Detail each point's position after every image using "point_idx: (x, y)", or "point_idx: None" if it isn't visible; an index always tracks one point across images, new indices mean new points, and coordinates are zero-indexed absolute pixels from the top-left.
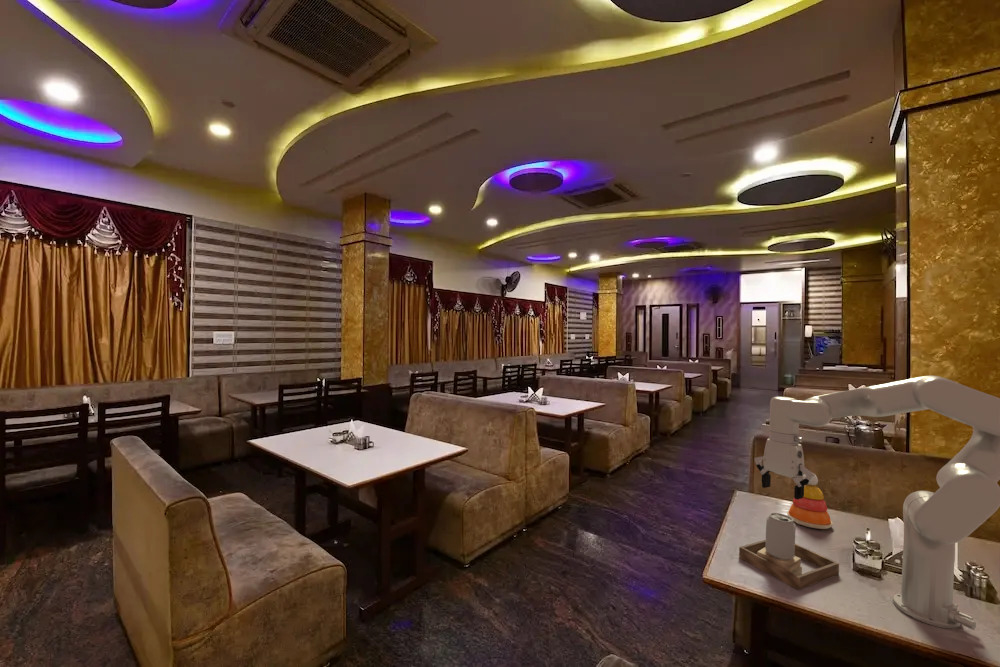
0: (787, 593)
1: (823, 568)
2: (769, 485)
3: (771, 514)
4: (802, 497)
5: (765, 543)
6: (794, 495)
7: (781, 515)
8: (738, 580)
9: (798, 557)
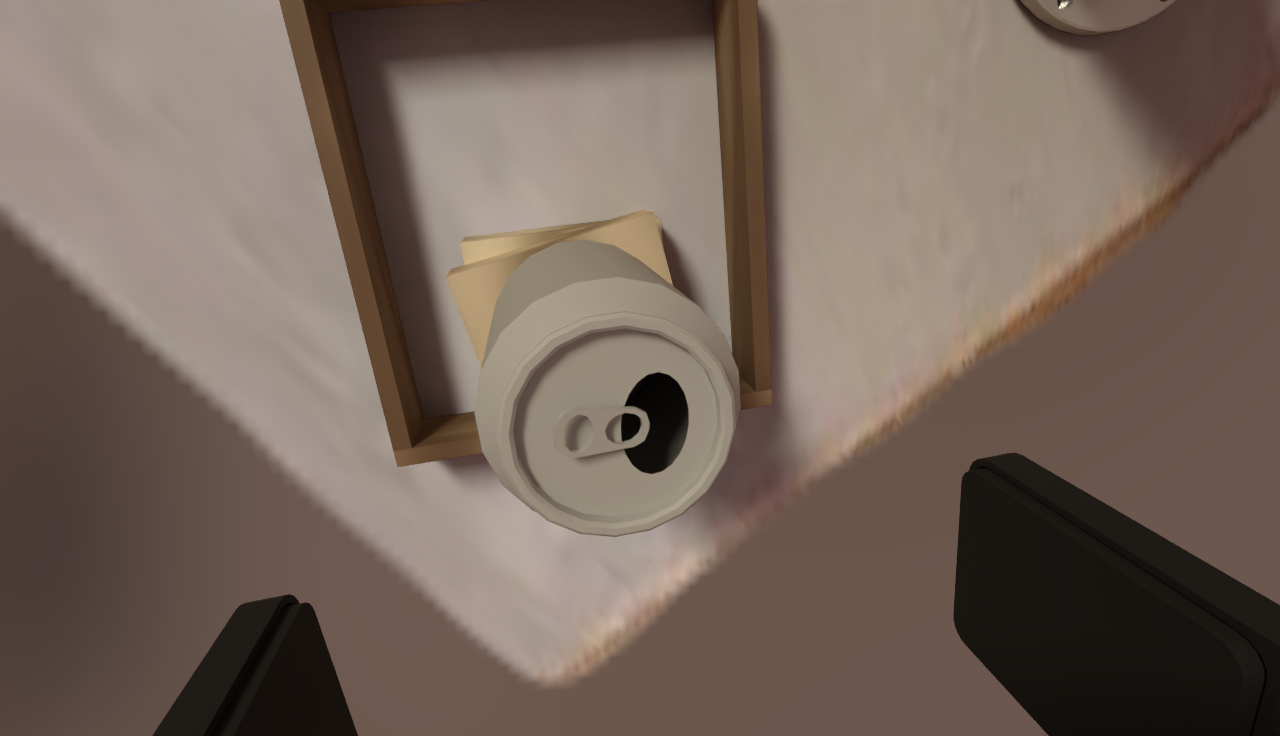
0: (748, 455)
1: (758, 144)
2: (304, 643)
3: (517, 457)
4: (1010, 459)
5: (356, 200)
6: (996, 672)
7: (554, 345)
8: (601, 594)
9: (640, 217)
